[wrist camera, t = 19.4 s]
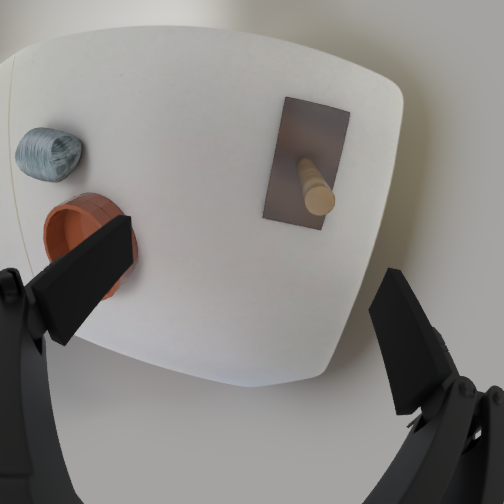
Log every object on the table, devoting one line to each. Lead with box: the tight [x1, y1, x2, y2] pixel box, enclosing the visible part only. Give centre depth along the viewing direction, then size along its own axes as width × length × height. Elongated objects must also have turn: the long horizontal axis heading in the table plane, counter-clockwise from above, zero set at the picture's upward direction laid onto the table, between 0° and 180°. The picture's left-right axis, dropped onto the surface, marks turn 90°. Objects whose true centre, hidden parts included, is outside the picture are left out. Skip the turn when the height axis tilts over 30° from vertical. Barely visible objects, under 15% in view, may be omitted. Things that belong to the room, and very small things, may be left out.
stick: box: [297, 158, 335, 216], centre depth 25 cm, size 2×2×15 cm
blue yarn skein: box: [15, 128, 82, 182], centre depth 32 cm, size 14×10×10 cm
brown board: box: [262, 97, 350, 230], centre depth 32 cm, size 16×8×2 cm, turn 170°
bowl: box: [43, 193, 137, 301], centre depth 40 cm, size 18×18×6 cm
